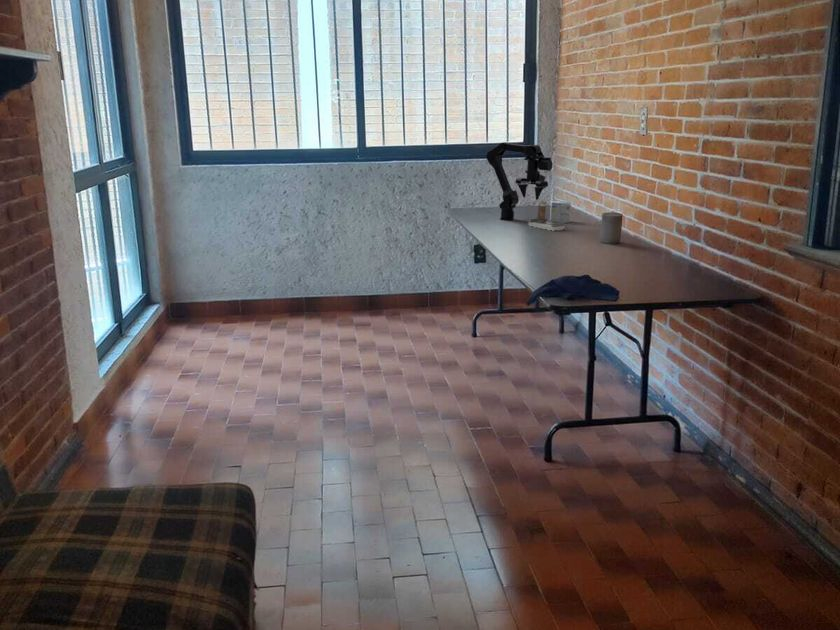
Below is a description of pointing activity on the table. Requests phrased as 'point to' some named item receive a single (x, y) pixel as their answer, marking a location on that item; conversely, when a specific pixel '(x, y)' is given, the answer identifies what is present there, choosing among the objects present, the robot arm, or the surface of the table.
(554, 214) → the light bulb box
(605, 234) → the pillar candle
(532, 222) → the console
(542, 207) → the fader
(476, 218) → the table surface
